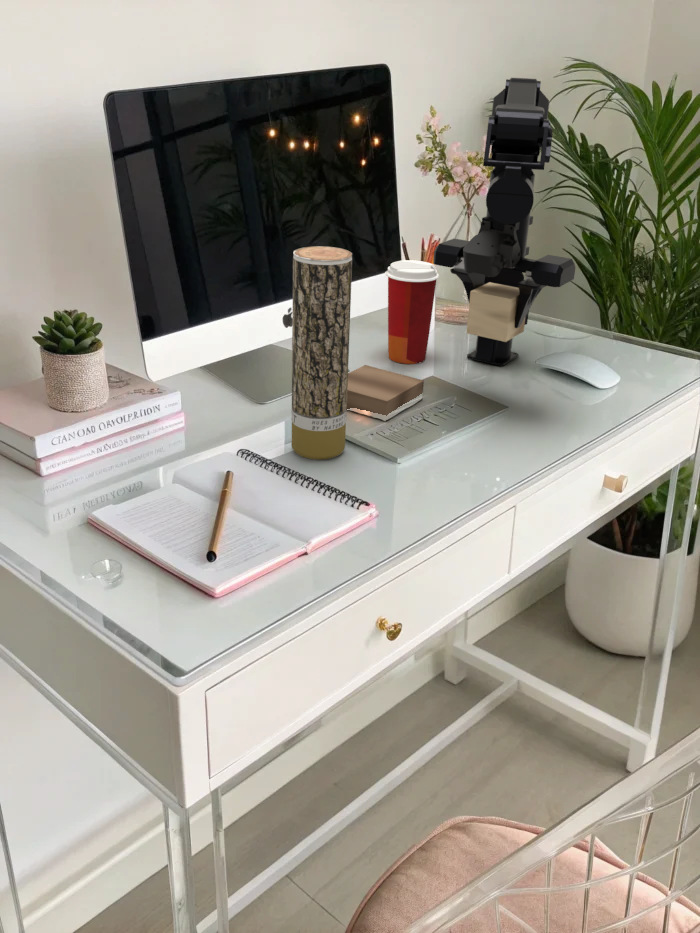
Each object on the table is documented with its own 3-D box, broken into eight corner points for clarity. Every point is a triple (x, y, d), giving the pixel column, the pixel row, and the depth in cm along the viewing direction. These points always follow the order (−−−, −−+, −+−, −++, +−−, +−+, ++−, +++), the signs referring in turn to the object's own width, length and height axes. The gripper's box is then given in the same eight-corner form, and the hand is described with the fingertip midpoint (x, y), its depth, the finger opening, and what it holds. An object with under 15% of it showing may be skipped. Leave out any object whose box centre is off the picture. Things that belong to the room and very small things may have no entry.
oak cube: (485, 322, 133) (489, 282, 130) (523, 331, 130) (528, 289, 127) (466, 333, 128) (470, 291, 126) (505, 342, 126) (510, 299, 123)
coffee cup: (432, 351, 152) (440, 261, 145) (431, 368, 145) (439, 274, 138) (382, 347, 152) (387, 257, 146) (378, 364, 145) (383, 270, 138)
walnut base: (364, 383, 137) (365, 364, 136) (422, 399, 133) (423, 380, 131) (325, 403, 130) (326, 384, 129) (385, 421, 125) (387, 401, 124)
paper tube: (352, 444, 118) (360, 250, 107) (334, 466, 112) (340, 263, 101) (303, 435, 120) (306, 243, 109) (282, 456, 114) (283, 256, 103)
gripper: (417, 208, 120) (409, 323, 127) (551, 229, 111) (535, 352, 118) (456, 197, 129) (447, 305, 135) (584, 215, 120) (567, 331, 127)
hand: (496, 322), depth 129 cm, fingers closed on oak cube, 6 cm apart
